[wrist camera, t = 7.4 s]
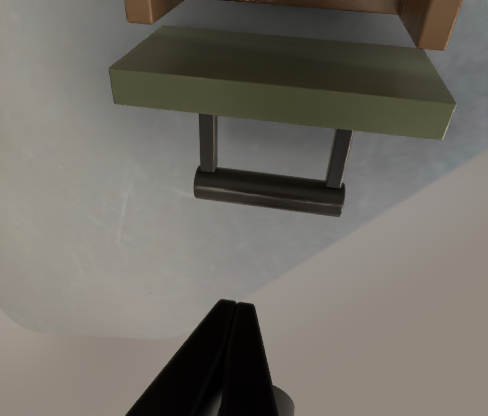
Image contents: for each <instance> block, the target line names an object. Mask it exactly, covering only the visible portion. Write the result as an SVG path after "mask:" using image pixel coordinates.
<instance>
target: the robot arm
mask: <svg viewBox="0 0 488 416" xmlns="http://www.w3.org/2000/svg"><path fill="white" fill-rule="evenodd" d="M220 404H221V407H220ZM125 416H279V411H278V407H277V402H276V398H275V394H274V389H273V385H272V380H271V376H270V372H269V367H268V363H267V358H266V354H265V349H264V345H263V341H262V336H261V332H260V327H259V323H258V318H257V314H256V310H255V307H254V305H253V304H251V303H244V302H238V303H236V302H235V301H232V300H225V299H221V300H219V301H218V302H217V303H216V304H215V305H214V307H213V308H212V309H211V310H210V312H209V313H208V314H207V315H206V317H205V318H204V319H203V320H202V321H201V323H200V324H199V325H198V326H197V328H196V329H195V330H194V331H193V333H192V334H191V335H190V336H189V338H188V339H187V340H186V341H185V342H184V344H183V345H182V346H181V347H180V349H179V350H178V351H177V352H176V353H175V355H174V356H173V357H172V359H171V360H170V361H169V362H168V364H167V365H166V366H165V367H164V368H163V369H162V371H161V372H160V373H159V374H158V376H157V377H156V378H155V379H154V381H153V382H152V383H151V385H149V387H148V388H147V389H146V390H145V392H144V393H143V394H142V395H141V397H140V398H139V399H138V400H137V401H136V403H135V404H134V405H133V406H132V408H131V409H130V410H129V411H128V413H127V414H126V415H125Z"/></svg>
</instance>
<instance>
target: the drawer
mask: <svg viewBox="0 0 488 416" xmlns="http://www.w3.org/2000/svg"><path fill="white" fill-rule="evenodd" d="M124 1H125V9H126V17H127V21H128V22H130V23H139V24H150V25H151V24H153V23H154V22H156V21H157V20H158V19H160V18H161V17H163V16H164V15H165V14H167V13H168V12H169V11H171V10H172V9H173V8H175V7H176V6H178V5H179V4H180V3H182V2H183V1H184V0H124ZM223 1H236V2H248V3H260V4H272V5H284V6H297V7H309V8H321V9H333V10H345V11H358V12H370V13H382V14H394V15H398V16H399V18H400V19H401V21H402V23H403V25H404V26H405V28H406V30H407V31H408V33H409V35H410V37H411V38H412V40H413V42H414V43H415V45H416V47H417V48H409V47H398V46H387V45H376V44H365V43H354V42H343V41H331V40H320V39H309V38H298V37H287V36H276V35H265V34H253V33H242V32H231V31H220V30H209V29H198V28H187V27H175V26H164V25H163V26H161V27H160V28H159V29H158V30H156V31H155V32H154V33H153V34H151V35H150V36H149V37H147V38H146V39H145V40H144V41H142V42H141V43H140V44H139V45H137V46H136V47H135V48H134V49H132V50H131V51H130V52H128V53H127V54H126V55H125V56H123V57H122V58H121V59H120V60H118V61H117V62H116V63H114V64H113V65H112V66H111V67H109V74H110V80H111V87H112V93H113V99H114V103H115V104H121V105H129V106H138V107H147V108H156V109H165V110H174V111H183V112H192V113H199V135H200V165H199V166H198V168H197V170H196V174H195V178H194V196H195V197H196V198H199V199H206V200H214V201H221V202H229V203H236V204H244V205H251V206H259V207H266V208H274V209H281V210H289V211H296V212H304V213H311V214H319V215H326V216H334V217H340V215H341V213H342V210H343V205H344V199H345V184H344V183H342V180H343V176H344V172H345V167H346V163H347V159H348V154H349V150H350V146H351V141H352V137H353V133H354V131H363V132H372V133H381V134H389V135H398V136H407V137H416V138H425V139H434V140H443V139H444V136H445V133H446V131H447V128H448V126H449V123H450V120H451V118H452V115H453V113H454V110H455V107H456V105H457V104H456V102H455V100H454V98H453V97H452V95H451V94H450V92H449V90H448V89H447V87H446V85H445V84H444V82H443V81H442V79H441V77H440V76H439V74H438V73H437V71H436V69H435V68H434V66H433V64H432V63H431V61H430V60H429V58H428V56H427V55H426V53H425V52H424V50H423V49H430V50H441V51H442V50H445V49H446V48H447V46H448V43H449V40H450V37H451V34H452V31H453V28H454V25H455V22H456V19H457V16H458V13H459V10H460V8H461V5H462V2H463V0H223ZM218 115H219V116H228V117H237V118H246V119H255V120H264V121H273V122H282V123H291V124H300V125H309V126H318V127H327V128H335V133H334V138H333V143H332V148H331V153H330V158H329V163H328V168H327V174H326V179H325V180H317V179H309V178H301V177H293V176H285V175H277V174H269V173H261V172H253V171H245V170H237V169H229V168H221V167H217V138H218Z"/></svg>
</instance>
